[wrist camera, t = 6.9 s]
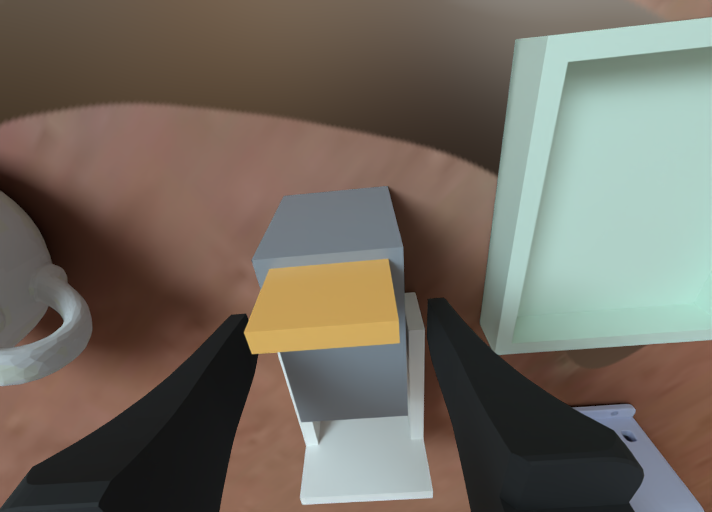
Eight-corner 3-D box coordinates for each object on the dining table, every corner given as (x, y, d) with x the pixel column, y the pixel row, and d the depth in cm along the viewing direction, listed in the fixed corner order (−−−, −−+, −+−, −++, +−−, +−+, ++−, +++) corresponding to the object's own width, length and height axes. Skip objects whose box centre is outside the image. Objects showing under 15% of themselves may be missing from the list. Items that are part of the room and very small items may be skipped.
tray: (864, 0, 12) (973, -12, 10) (694, 307, 20) (736, 338, 18) (515, 39, 13) (548, 35, 11) (479, 323, 20) (494, 355, 18)
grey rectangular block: (387, 185, 16) (419, 306, 8) (394, 325, 20) (418, 487, 13) (284, 195, 16) (220, 322, 8) (314, 331, 21) (290, 494, 13)
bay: (415, 292, 19) (437, 379, 14) (415, 404, 24) (432, 497, 19) (284, 302, 19) (259, 391, 14) (313, 410, 25) (302, 504, 19)
